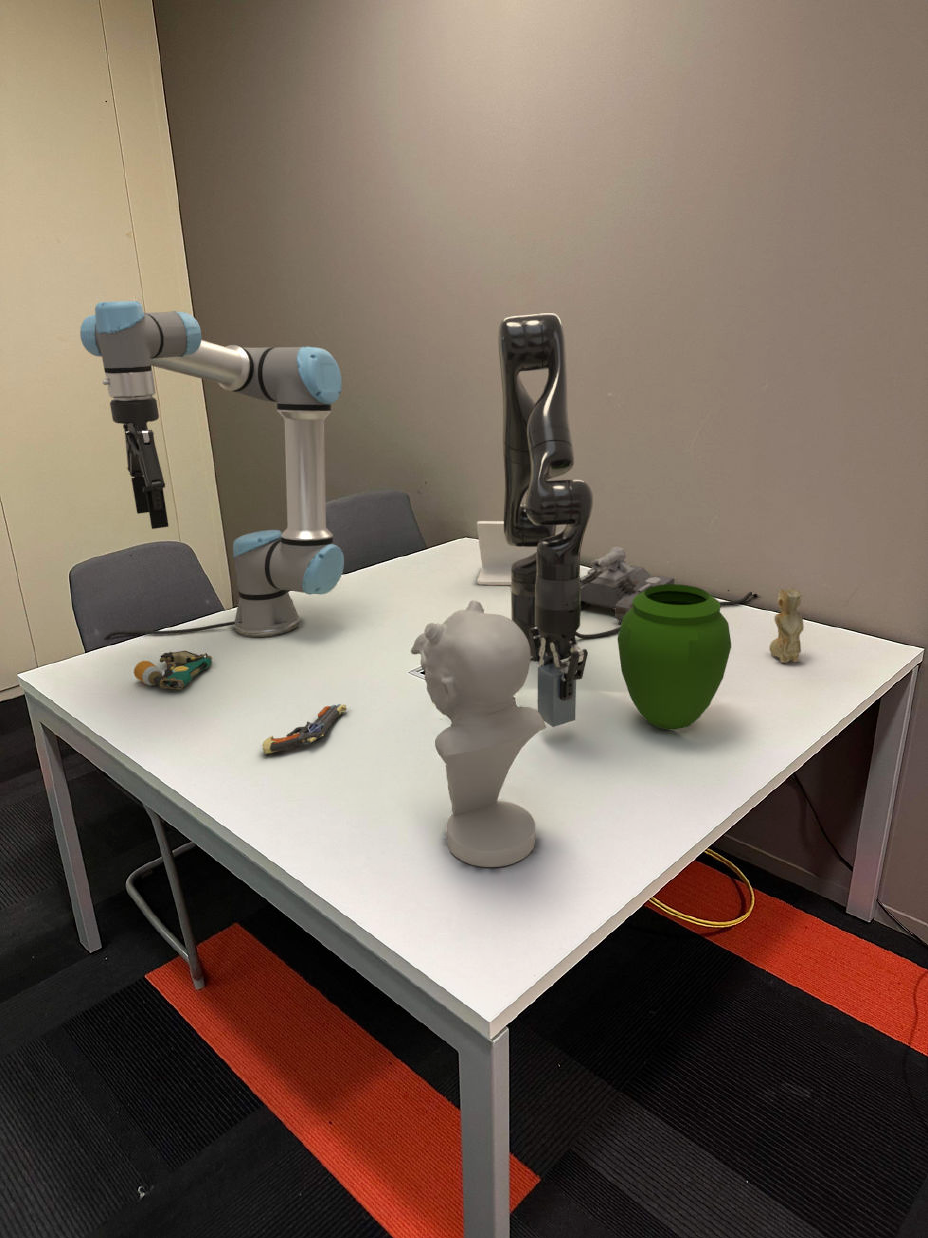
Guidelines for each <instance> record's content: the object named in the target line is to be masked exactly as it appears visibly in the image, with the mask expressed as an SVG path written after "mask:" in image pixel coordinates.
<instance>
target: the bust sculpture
mask: <svg viewBox="0 0 928 1238" xmlns="http://www.w3.org/2000/svg"><path fill="white" fill-rule="evenodd" d="M530 653H531V652H530V646H529V643H528V640H527V638H526V636H525V634H524V633H523V632H522V630H521V629H520V628H519V627H518V626H517V625H516V624H515V623H514V622H513V621H512V620H511V618H508V617H507V616H504V615H503V614H502V615H501V614H496V613H485V609H484V607H483V605H482V603H481V602H480V601H478V600H473V599H472V600H470V601H469V603H468V605H467V607H466V609H460V610H457V611H455V612H453V613H451V615H449V616H448V617H447V618H446V619H445V620H444V622H442V624H441V623H435V622H430V623H428V624H427V625H426V626H425V628H424V632H423V633H421V634H419V635H418V636H417V637H416V638H415V640H414V642H413V645H412V647H411V649H410V654H412V655H420V667H421V669H422V670H423V672H424V681H425V682H426V690H427V693H428V696H429V698H430V701H431V702H432V704H434V706H435V708H436V710H438V711H439V712H440V713H441V714H442V716H446V717H447V718H448V719H449V720H450V726H448V727H446V728H445V729H443V730H442V731H441V732H440V733H439V734H438V735H436V738H435V741H434V748H435V749H436V752H437V753H438V755H439V757H440V758H441V760H442V761H443V762H444V763H445V771H446V781H447V790H448V796H449V800H450V803H451V810H452V813H451V814H450V815H449V817H448V819H447V822H446V844H447V847H448V849H449V851H450V852H451V854H452V855H453V856H454V857H456V858H457V859H459V860H460V861H462V862H463V863H466V864H469V865H471V866H476V867H483V868H498V867H505V866H509V865H512V864H517V862H520V861H521V860H523V859H525V858H527V856H528V855H530V854H531V852H532V851H533V849H535V848H534V847H535V845H536V822H535V821H536V820H535V819H534V817H533V816H532V814H531V813H530V812H529V811H528V810H526V809H525V808H524V807H522V806H520V805H517V804H515V803H513V802H509V801H504V800H499V796H500V793H501V790H502V788H503V785H504V783H505V780H506V778H507V776H508V773H509V771H510V769H511V768H512V765H513V763H514V761H515V760H516V759H517V756H518V755H519V753H520V752H521V750H522V749H523V748H524V747H525V745H526V744H527V743H528V742H529V741H530V740H531V739H532V738H533V737H535V735H537V734H538V733H539V732H541V731H544V730H545V729H546V728H547V725H546V722H545V721H544V720H543V718H542V716H541V715H540V713H539V712H538V709H535V708H533V707H530V706H518V705H517V701H516V699H517V698H516V696H515V695H516V694H517V693H519V691H521V689H522V688H523V686H524V684H525V683H526V680H527V678H528V675H529V669H530V666H531V659H530V656H531V655H530Z"/></svg>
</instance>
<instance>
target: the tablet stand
mask: <svg viewBox="0 0 928 1238" xmlns="http://www.w3.org/2000/svg"><path fill="white" fill-rule="evenodd" d="M566 526H567V525H556V534H555V535H557V534H559V533H561V532H562V531H563V530H564V529H565V527H566ZM476 531H477V537H478V544H479V551H480V557H481V558H480V559H481V570H480V573H479V575H478V577H477V580H476V581H477V582H476V584H478V585H484V586H485V585H486V586H487V585H489V586H490V585H491V586H511V567H512V565H513V563H515V562H516V561H518V560H520V559H523V558H526V557H528V556H530V555H532V554H534V553H535V552H537V547H513V546H510V545H508V543H507V542H506V540H505V536H504V520H477V522H476Z"/></svg>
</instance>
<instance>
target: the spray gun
mask: <svg viewBox="0 0 928 1238" xmlns="http://www.w3.org/2000/svg"><path fill="white" fill-rule="evenodd" d="M212 660H213V657H212V656H211V655H208V653H207V652H205V653H201V654H197V653H194V652H192V651H191V652H190V651H188V650H180V651H169V652H164V653H162V654H161V655H160V658H159V660H158V662H159V663H161V664H163V663H165V664H166V668H165V670H163V672H164V674H163V673H162V669H160V668H159V666H157V665H156V664H154V663H152V662H151V661H149V660H141V661H139V662H138V663H136V665H135V666H134V668H133V675H134V677H135V678H136V679H137V680H139V681H140V682H142V683H143V684H145V685H147V686H155V685H157V686H158V687H160V688H161V689H171V690H172V689H173V690H182V689H184V687H185V686H186V685H188V684H189V683H190V682H191V681H192V679H193V678H195V677H196V676H197V675H198V674H200V673H201V672H202V671H203V670H206V669H208V668H209V667H210V666H211V665H212V662H213V661H212ZM178 663H179V664H181V665H179V666H176V665H177V664H178Z"/></svg>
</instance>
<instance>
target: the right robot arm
mask: <svg viewBox="0 0 928 1238" xmlns="http://www.w3.org/2000/svg"><path fill="white" fill-rule="evenodd" d="M497 338H498V342H497V343H498V355H499V367H500V379H501V389H502V455H503V470H504V502H503V503H504V505H503V521H504V536H505V540H506V542H507V543H508V545H510V546H513V547H537V552H535V553H534V554H532V555H530V556H528V557H526V558H523V559H520V560H518V561H516V562H515V563H513V565H512V567H511V585H510V588H511V589H510V597H511V599H510V603H511V604H510V606H511V607H510V609H511V610H510V615H511V617H510V619H511V620H512V621H513V622H514V623H515V624H516V625H517V626H518V627H519V628H520V629H521V630H522V632H523V633H524V634H525V636H526V638H527V640H528V643H529V646H530V652H531V653H530V655H531V656H530V660H533V662H535V663H536V662H537V664H538V667H540V666H544V665H547V664H551V663H554V662H555V667H556V668H558V669H559V675H560V679H561V680H560V699H561V700H562V701H565V700H568V699H571V698H572V696H573V681H575V680H576V681H579V680H582V679H583V677H584V673H585V668H586V664H587V659H588V655H589V652H588V650H587V649H586V648H583V649H581V648H580V647H579V646H578V644H577V639H576V638H579V639H584V640H590V639H596V638H597V639H598V638H599V639H600V638H602V637H603V638H604V637H607V636H610V635H614V634H617V633H619V631H620V627H621V625H620V626H619V627H616V628H613V629H611V630H607V631H603V632H598V633H592V634H585V633H584V634H583V633H579V632H578V630H579V628H581V613H582V611H581V610H582V608H581V583H580V578H581V551H582V546H583V541H584V537H585V533H586V530H587V526H588V523H589V521H590V518H591V514H592V511H593V505H594V494H593V491H592V489H591V487H590V485H589V484H588V483H587V482H586V481H585V480H583V479H577V478H576V479H559V480H558V479H557V480H550V479H554V478H556V477H560V476H563V475H565V474H567V473H568V472H569V471H571V470H572V468H573V467H574V464H575V455H574V454H575V453H574V448H573V443H572V437H571V429H570V424H569V423H570V422H569V413H568V377H567V356H566V354H567V353H566V341H565V340H566V339H565V332H564V328H563V323H562V322H561V319H560V317H559V315H557V314H556V313H552V312H551V313H549V312H547V313H546V312H545V313H534V314H522V315H513V316H508V317H505V318H503V319H502V320H501V322H500V324H499V328H498V337H497ZM545 370H547V373H548V374H547V379H546V382H545V385H544V387H543V390H542V391H541V393H540V395H539V397H538V399H537V401H536V402H535V400H534V399H533V398H532V397H531V395H530V394H529V392H528V391H527V389H526V387H525V385H524V384H523V382H522V380H521V377H520V374H521V373H524V372H535V371H545ZM525 495H526V496H525ZM524 497H525V502H523V499H524ZM556 525H567V526H566V527H565V529H564V530H563V531H562V532H561V533H559V534H557V535H555V534H556ZM752 596H753V598H758V597H759V595H758V594H757V593H756V594H754V595H752V592H751V591H749V592H748V593H747V594H746V595H745V596H743V597H742V598H741V599H737V600H730V601H719V603H720V607H721V606H734V605H740V604H743V603H744V602H746V601H748V600H749V598H750V597H752ZM563 660H565V661H563ZM567 666H568V672H567V673H565V667H567ZM575 671H576V672H575Z"/></svg>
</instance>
